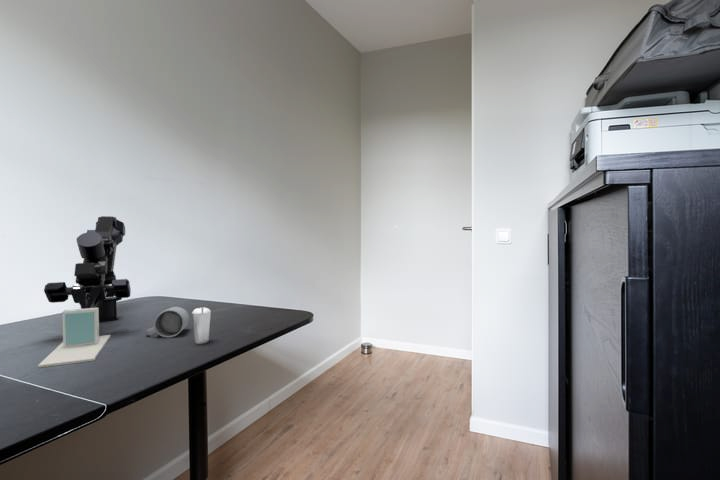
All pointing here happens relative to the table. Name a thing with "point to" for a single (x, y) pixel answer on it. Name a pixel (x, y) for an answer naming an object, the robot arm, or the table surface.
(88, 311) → the tile
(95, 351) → the mat
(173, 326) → the ceramic mug
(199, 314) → the milkshake
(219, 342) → the table surface
